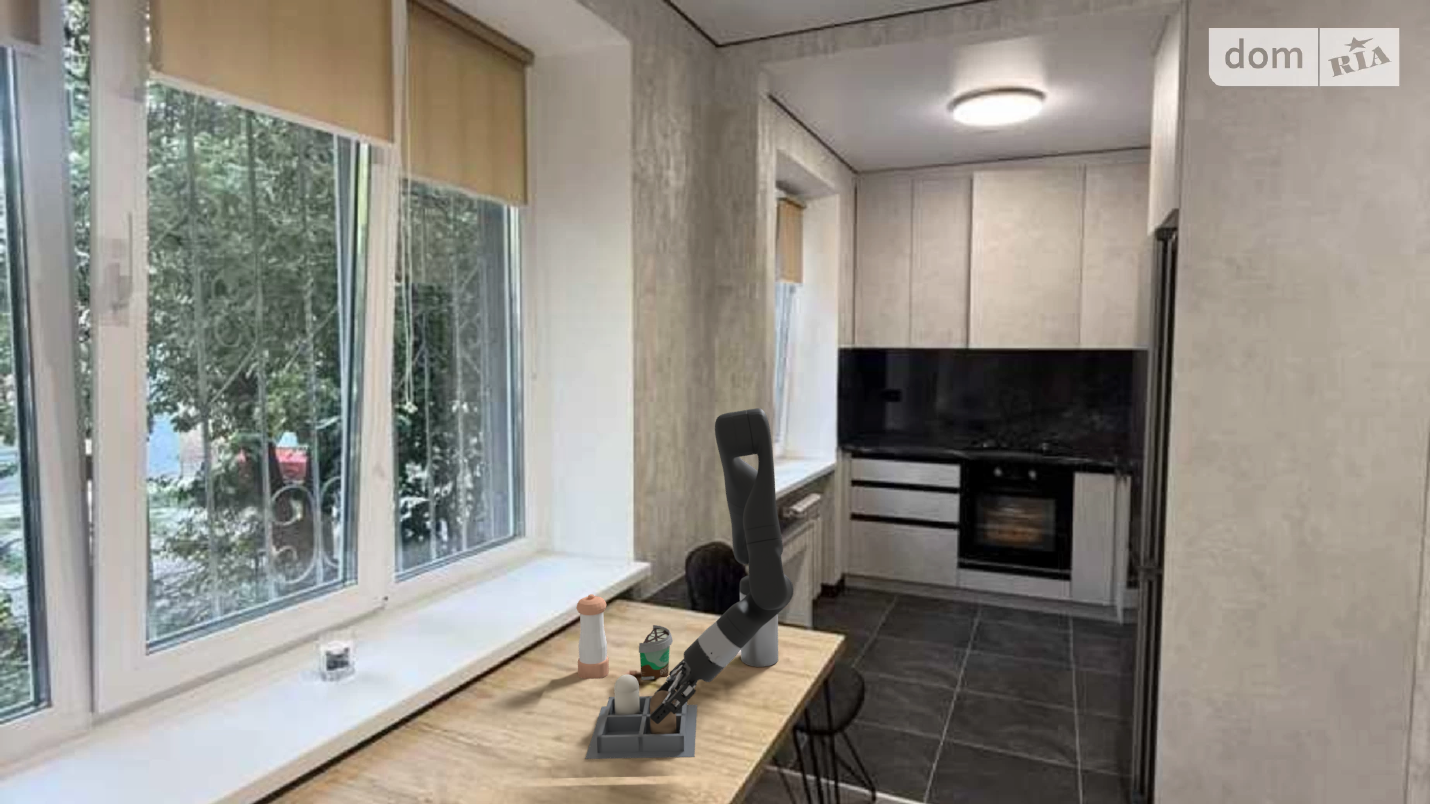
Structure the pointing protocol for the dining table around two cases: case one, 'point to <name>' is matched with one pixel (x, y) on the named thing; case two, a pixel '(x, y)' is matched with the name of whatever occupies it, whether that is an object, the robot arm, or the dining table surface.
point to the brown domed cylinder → (668, 722)
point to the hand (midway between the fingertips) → (655, 709)
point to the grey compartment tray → (641, 734)
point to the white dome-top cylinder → (627, 696)
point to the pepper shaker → (592, 639)
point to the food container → (655, 653)
